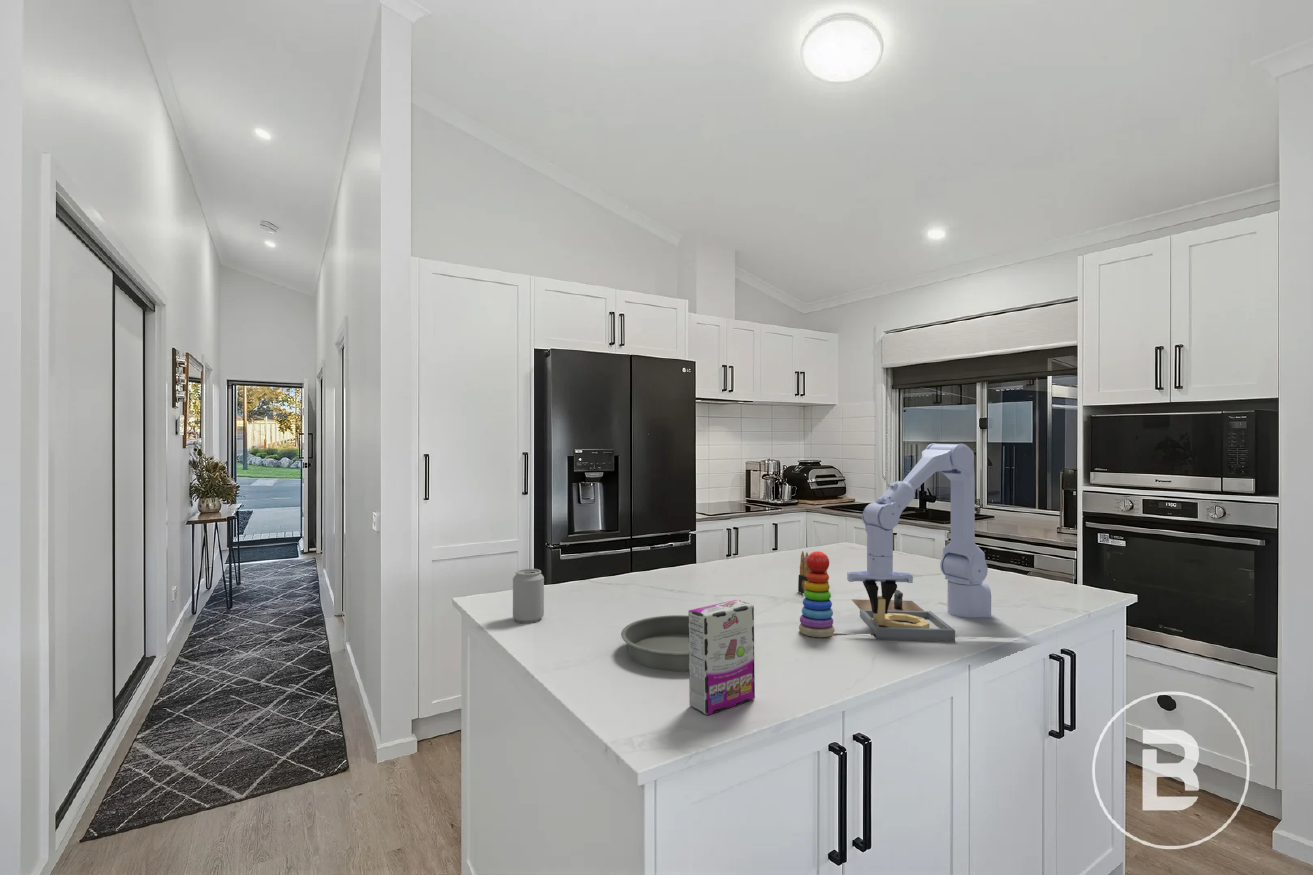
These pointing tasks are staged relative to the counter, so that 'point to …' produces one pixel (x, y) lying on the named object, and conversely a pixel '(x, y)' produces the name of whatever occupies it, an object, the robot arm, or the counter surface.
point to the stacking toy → (817, 599)
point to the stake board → (905, 605)
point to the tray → (910, 633)
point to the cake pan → (659, 642)
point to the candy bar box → (721, 656)
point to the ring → (896, 618)
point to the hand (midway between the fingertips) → (879, 612)
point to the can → (528, 595)
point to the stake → (898, 599)
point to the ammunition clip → (803, 573)
